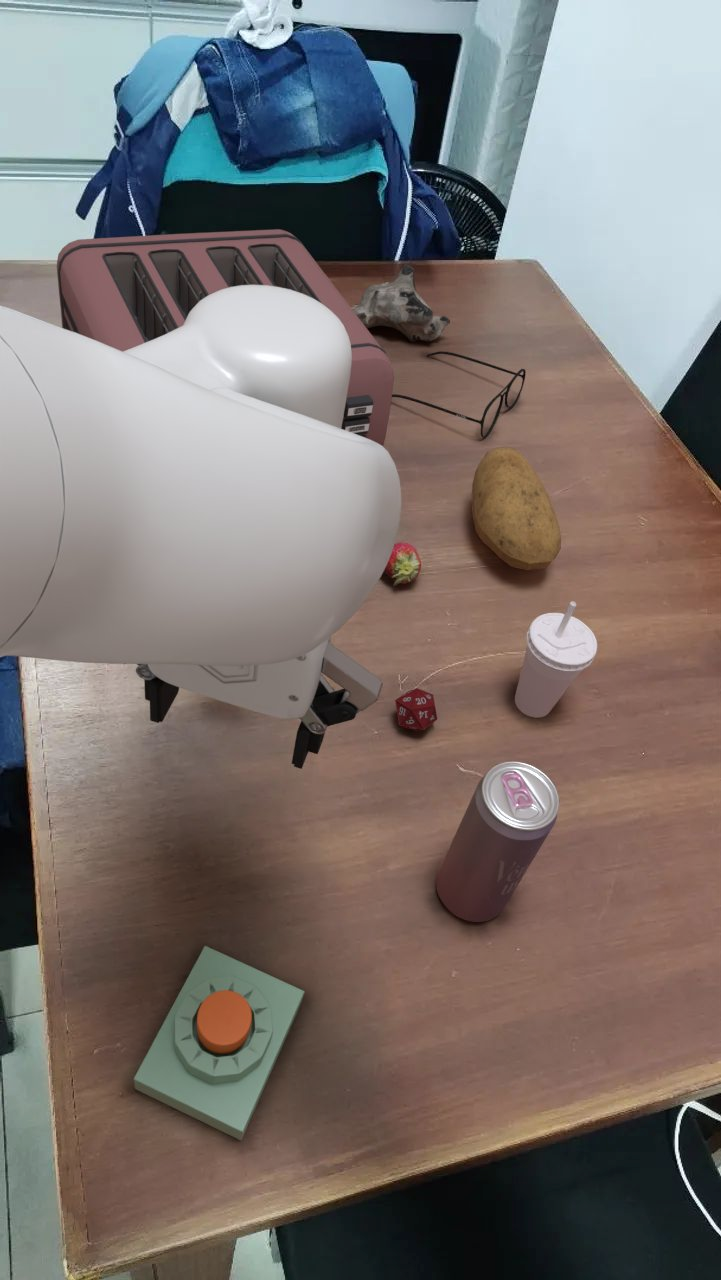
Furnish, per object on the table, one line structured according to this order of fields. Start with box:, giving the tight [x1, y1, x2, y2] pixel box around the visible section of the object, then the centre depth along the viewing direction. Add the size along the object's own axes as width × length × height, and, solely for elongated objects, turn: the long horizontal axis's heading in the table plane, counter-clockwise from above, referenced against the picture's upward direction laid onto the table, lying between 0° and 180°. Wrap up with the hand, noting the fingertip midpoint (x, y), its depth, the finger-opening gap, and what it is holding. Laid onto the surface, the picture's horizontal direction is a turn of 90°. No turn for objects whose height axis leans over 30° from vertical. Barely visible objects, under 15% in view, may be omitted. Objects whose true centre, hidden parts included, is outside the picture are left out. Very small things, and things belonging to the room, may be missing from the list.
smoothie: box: [514, 601, 598, 719], centre depth 84 cm, size 6×6×14 cm
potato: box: [471, 446, 562, 571], centre depth 101 cm, size 9×16×9 cm, turn 10°
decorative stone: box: [350, 264, 451, 343], centre depth 129 cm, size 16×9×10 cm, turn 95°
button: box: [197, 990, 252, 1054], centre depth 61 cm, size 4×4×2 cm
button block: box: [133, 945, 305, 1141], centre depth 63 cm, size 10×8×4 cm
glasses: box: [392, 350, 527, 438], centre depth 122 cm, size 14×15×5 cm
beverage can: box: [435, 760, 560, 923], centre depth 70 cm, size 6×6×15 cm
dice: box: [394, 687, 438, 732], centre depth 84 cm, size 4×4×4 cm
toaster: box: [56, 228, 395, 447], centre depth 104 cm, size 30×36×17 cm
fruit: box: [384, 542, 422, 586], centre depth 97 cm, size 4×6×5 cm
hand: (233, 728), depth 60 cm, fingers open, 9 cm apart
